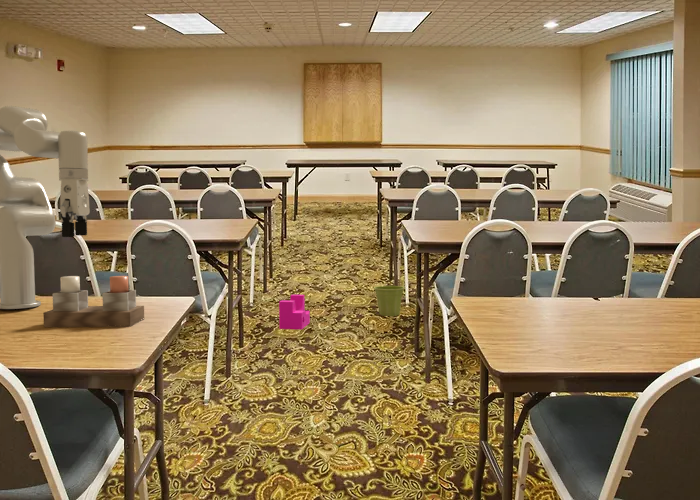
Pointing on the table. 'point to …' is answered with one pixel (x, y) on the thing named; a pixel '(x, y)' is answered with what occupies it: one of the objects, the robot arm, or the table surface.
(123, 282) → the plunger salmon pink
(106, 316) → the button box
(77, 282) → the plunger white
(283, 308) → the toy block
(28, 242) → the robot arm
